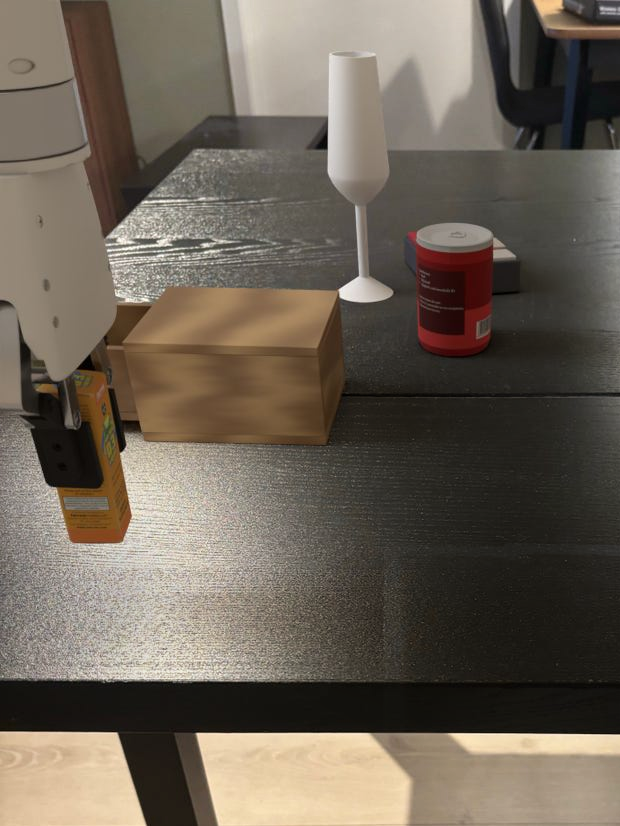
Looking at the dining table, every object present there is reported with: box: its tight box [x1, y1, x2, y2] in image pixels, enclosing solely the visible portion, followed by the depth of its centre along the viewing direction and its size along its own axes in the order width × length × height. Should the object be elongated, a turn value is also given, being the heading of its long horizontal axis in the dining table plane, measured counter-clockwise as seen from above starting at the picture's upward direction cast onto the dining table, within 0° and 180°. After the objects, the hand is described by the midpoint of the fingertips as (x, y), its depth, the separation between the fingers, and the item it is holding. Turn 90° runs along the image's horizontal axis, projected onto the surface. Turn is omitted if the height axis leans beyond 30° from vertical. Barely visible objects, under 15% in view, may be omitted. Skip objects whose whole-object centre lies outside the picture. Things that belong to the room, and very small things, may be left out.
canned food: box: [416, 222, 494, 357], centre depth 95 cm, size 8×8×11 cm
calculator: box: [403, 231, 522, 294], centre depth 115 cm, size 11×4×15 cm
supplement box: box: [36, 370, 133, 545], centre depth 56 cm, size 3×3×10 cm
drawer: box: [31, 301, 155, 422], centre depth 83 cm, size 20×12×7 cm, turn 89°
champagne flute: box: [327, 50, 394, 303], centre depth 103 cm, size 7×7×24 cm
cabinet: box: [122, 285, 347, 446], centre depth 83 cm, size 16×14×9 cm
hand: (87, 464), depth 56 cm, fingers closed on supplement box, 3 cm apart
